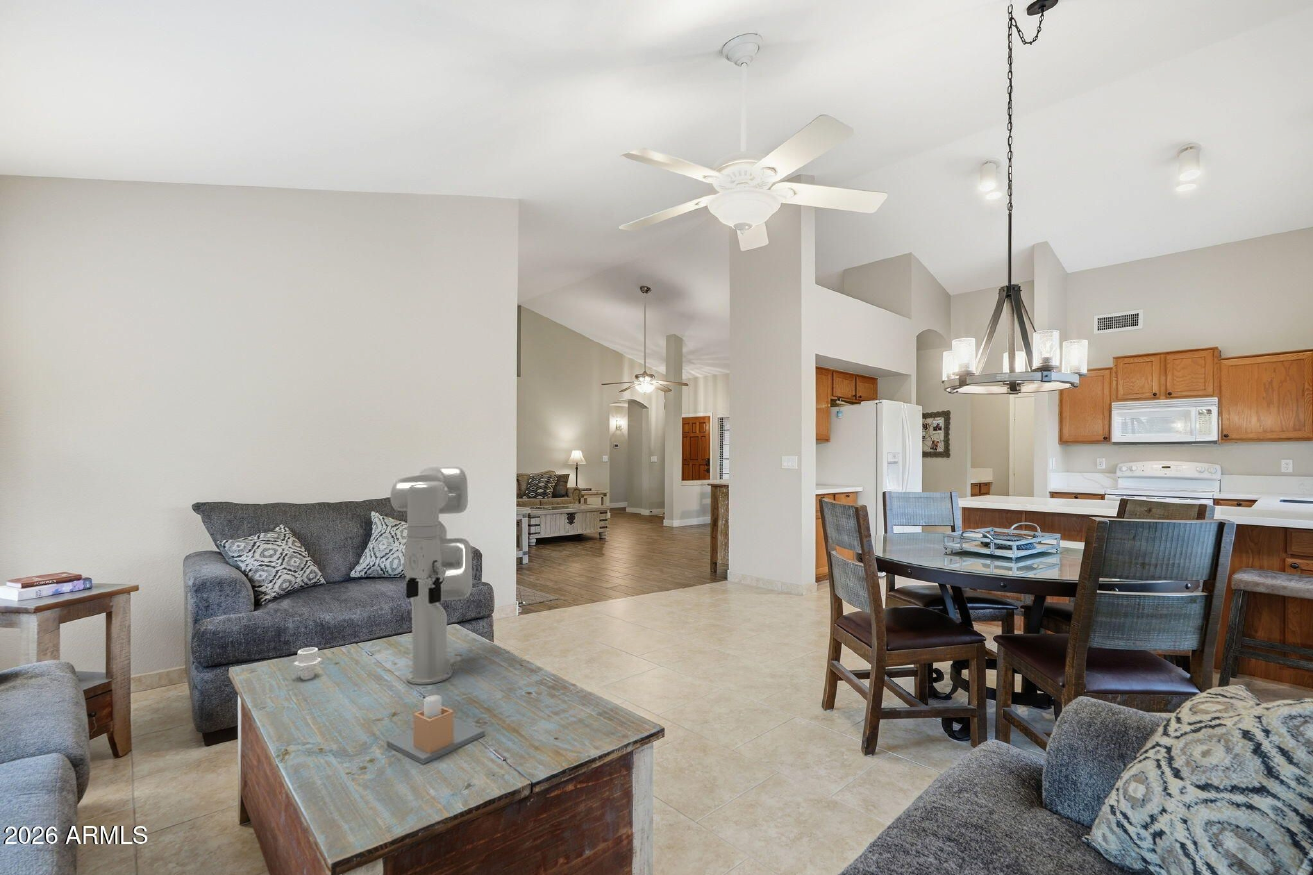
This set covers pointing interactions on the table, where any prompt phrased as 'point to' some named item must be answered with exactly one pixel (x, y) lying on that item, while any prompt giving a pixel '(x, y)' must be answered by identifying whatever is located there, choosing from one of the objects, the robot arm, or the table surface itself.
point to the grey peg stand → (461, 737)
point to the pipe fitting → (307, 662)
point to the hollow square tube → (433, 730)
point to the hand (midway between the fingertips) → (423, 599)
